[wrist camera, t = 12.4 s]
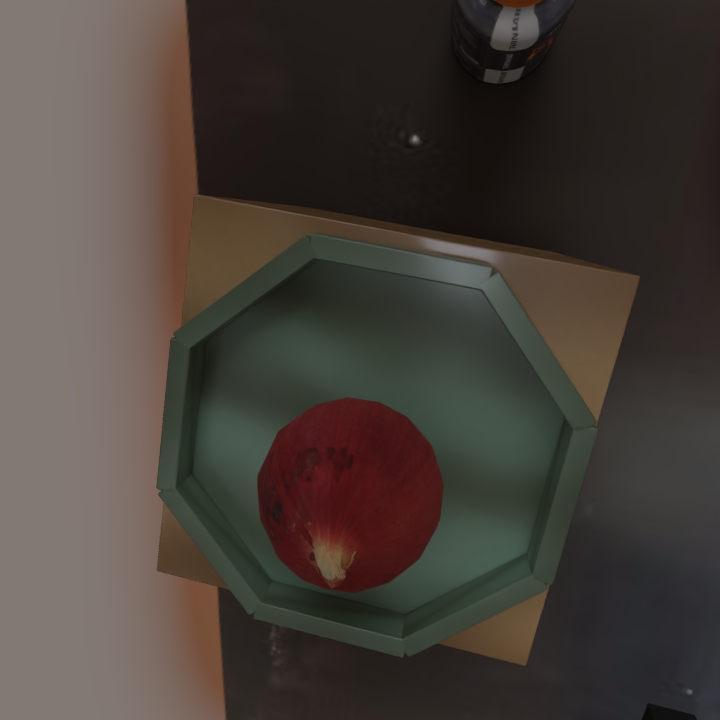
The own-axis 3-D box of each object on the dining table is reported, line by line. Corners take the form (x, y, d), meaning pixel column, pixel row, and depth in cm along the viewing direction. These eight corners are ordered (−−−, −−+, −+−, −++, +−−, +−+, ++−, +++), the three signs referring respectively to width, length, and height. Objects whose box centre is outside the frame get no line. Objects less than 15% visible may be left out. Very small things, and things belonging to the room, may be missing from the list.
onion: (269, 475, 23) (178, 601, 15) (328, 347, 21) (259, 415, 14) (402, 542, 23) (377, 704, 15) (471, 417, 21) (482, 527, 14)
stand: (309, 207, 39) (169, 191, 20) (552, 251, 37) (660, 281, 18) (276, 430, 43) (133, 598, 24) (494, 479, 41) (532, 704, 22)
